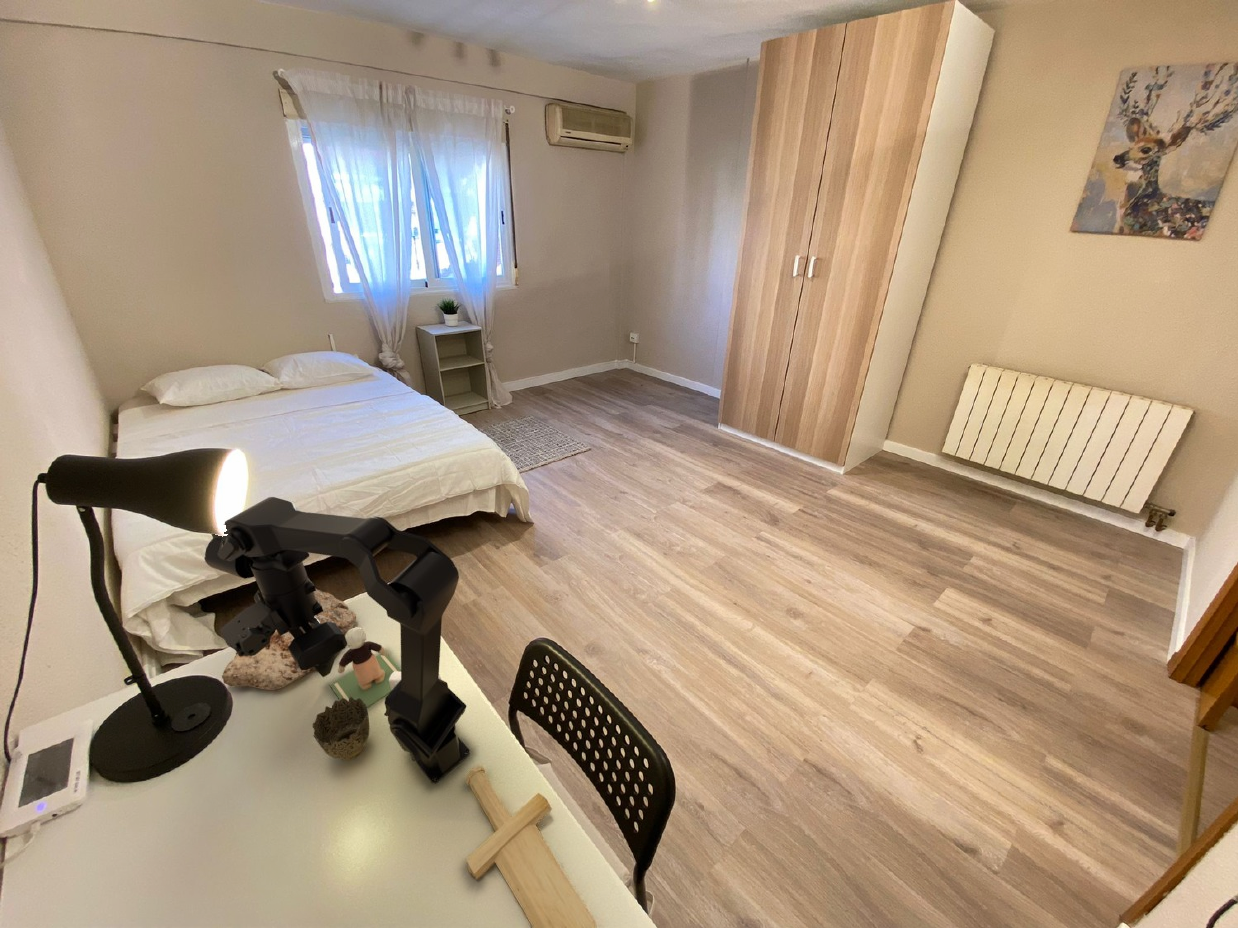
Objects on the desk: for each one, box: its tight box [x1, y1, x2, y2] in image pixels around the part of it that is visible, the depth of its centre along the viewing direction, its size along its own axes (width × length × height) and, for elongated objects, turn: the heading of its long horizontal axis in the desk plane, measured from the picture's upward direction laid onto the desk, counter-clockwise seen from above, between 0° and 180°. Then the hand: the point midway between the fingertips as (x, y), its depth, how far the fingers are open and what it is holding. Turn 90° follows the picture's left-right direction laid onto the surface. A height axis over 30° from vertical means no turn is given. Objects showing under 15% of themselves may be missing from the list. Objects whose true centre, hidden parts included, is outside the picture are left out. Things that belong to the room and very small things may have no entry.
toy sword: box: [465, 764, 598, 928], centre depth 65 cm, size 12×3×30 cm
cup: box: [312, 697, 370, 761], centre depth 77 cm, size 8×7×8 cm
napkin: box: [329, 653, 401, 709], centre depth 90 cm, size 9×10×1 cm
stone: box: [221, 587, 357, 691], centre depth 94 cm, size 22×8×15 cm
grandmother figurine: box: [337, 626, 388, 690], centre depth 87 cm, size 8×4×13 cm, turn 137°
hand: (313, 657), depth 79 cm, fingers open, 9 cm apart
